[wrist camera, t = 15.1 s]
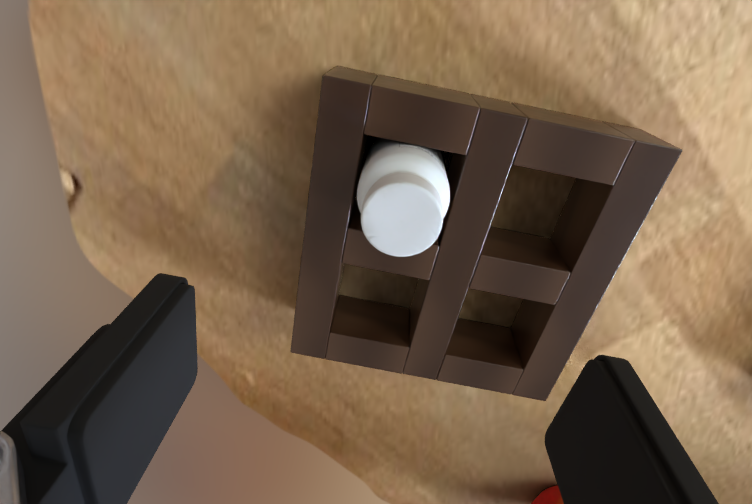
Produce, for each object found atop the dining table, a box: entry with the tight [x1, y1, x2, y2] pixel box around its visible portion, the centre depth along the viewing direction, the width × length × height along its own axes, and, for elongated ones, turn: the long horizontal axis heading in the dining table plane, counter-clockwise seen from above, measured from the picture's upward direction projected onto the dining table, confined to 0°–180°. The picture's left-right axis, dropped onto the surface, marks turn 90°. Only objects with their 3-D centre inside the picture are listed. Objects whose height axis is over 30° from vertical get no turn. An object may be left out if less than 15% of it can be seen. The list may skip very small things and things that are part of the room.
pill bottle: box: [357, 137, 450, 257], centre depth 21 cm, size 4×4×8 cm
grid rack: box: [291, 66, 682, 401], centre depth 25 cm, size 16×16×4 cm
